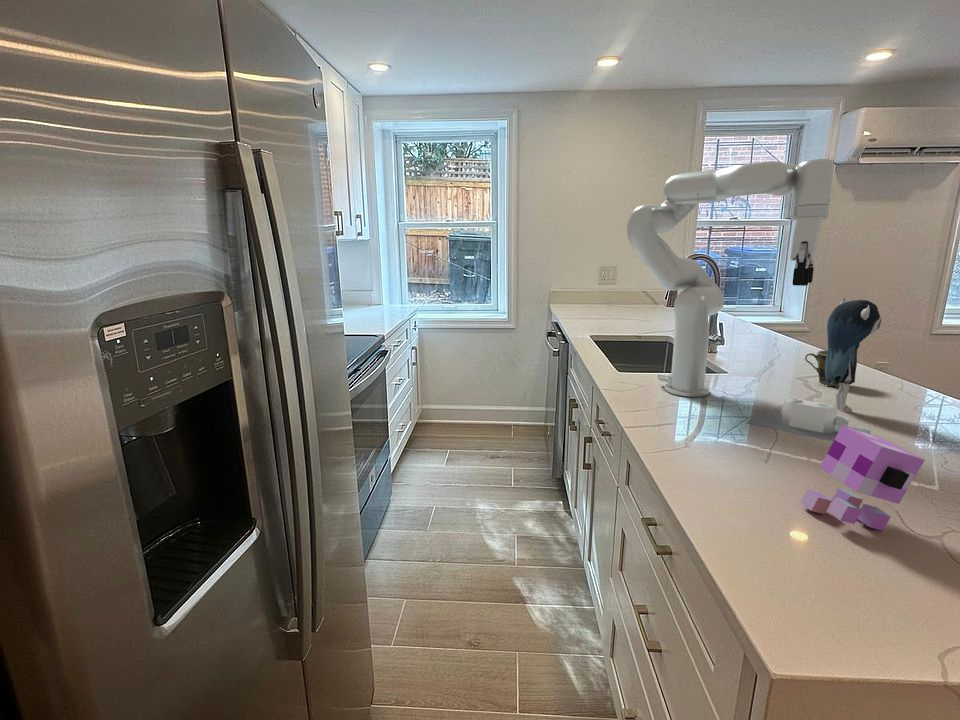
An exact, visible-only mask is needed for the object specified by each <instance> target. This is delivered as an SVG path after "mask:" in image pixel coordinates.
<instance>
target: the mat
mask: <svg viewBox="0 0 960 720" xmlns="http://www.w3.org/2000/svg"><path fill="white" fill-rule="evenodd" d="M781 417H782V413H776V412H772V411H771V412H770V411H765V410H761V409H757V410H756V411H755V413H754V414H753V415H752V416H751V417H750V418H749V419H748V421H747V422H746V425H751V426H755V427H761V428H765V429H771V430H775V431H781V432H785V433H789V434H794V435H801V436H804V437H805V436H806V437H810V438H814V439H820V440H825V441H830V442H833V441H834V440H835V438H836V436H837V434H838V432H839V430H840V428H841V427H842V426H837V425H835V429H834V433H822V432H816V431H811V430H806V429H801V428H796V427H791V426H786V425H783V424H782V423H781ZM848 428H851V429H854V430H858V431H861V432H864V433H867V434H870V430H869V429H863V428H860V427H859V428H858V427H853V426H848Z"/></svg>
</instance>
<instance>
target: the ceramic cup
mask: <svg viewBox="0 0 960 720" xmlns="http://www.w3.org/2000/svg"><path fill="white" fill-rule="evenodd" d="M827 354H828V350H819V351H817V352H816V354H815V353H811V352H810V353H806V355H805V357H804V360H805V361H806V362H807V364H809V365H810V366H812V368H813V369H814V370H816V372H817V374H818V380H819V383H821V384H824V385H827V386H826V387H828V386H835V387H834V388H836V387H838V388H839V387H840V384H839V383H838V382H834V384H833V385H829V384H830V383H831V378H830V379H829V380H830V382H828V383H824V382H825V381H826V378H825V362H826V357H827ZM808 356H812V357H814V358H815V360H816V362H817V367H816V366H815V365H814V364H813V363H811V362H810V361H809V360H808V358H807V357H808ZM819 383H818V384H819ZM821 384H820V385H821ZM824 385H823V386H824Z"/></svg>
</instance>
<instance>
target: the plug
mask: <svg viewBox="0 0 960 720" xmlns="http://www.w3.org/2000/svg"><path fill="white" fill-rule="evenodd" d="M836 406H837V405H833V404H829V403H822V402H818V401H817V402H816V401H810V400H804V399H800V398H799V399H798V398H792V397H788V398H783V403H782V410H781V411H782V413H781V414H782V417H781V423H782V424H783V425H786V426H791V427H796V428H801V429H806V430H811V431H816V432H822V433H834V429H835V425H837V426H845V427H849V422H850V417H847V416H842V415H838V407H836Z"/></svg>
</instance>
